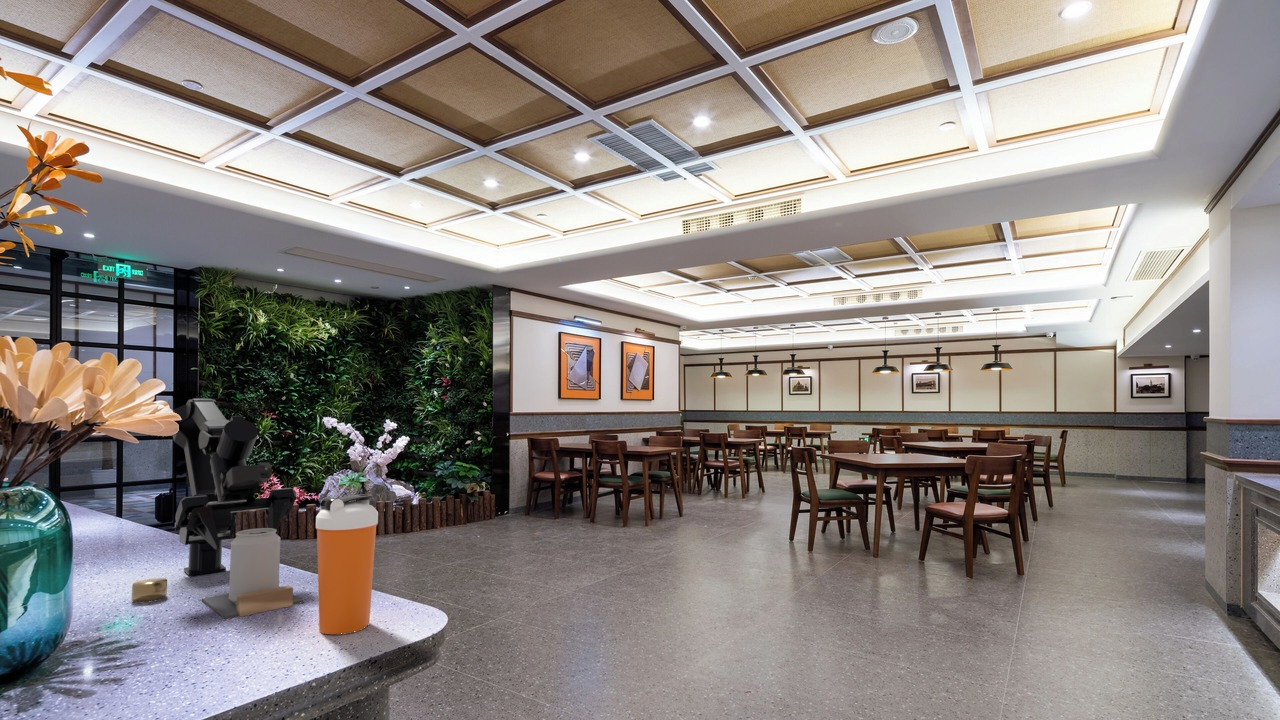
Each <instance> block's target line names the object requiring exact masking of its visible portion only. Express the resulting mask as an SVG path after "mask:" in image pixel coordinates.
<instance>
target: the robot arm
mask: <svg viewBox="0 0 1280 720" xmlns="http://www.w3.org/2000/svg"><path fill="white" fill-rule="evenodd" d="M217 405H218V404H217V400H216V399H212V398H192V399H188V400H187V402H186V404H183V405H181V406H179V407H177V408H175V409H173V410H172V412H175V413H177V414H179V415H180V416H182V420H181V421H180V422H179V431H178V433H176V434H175V435H172V439H173V442H174V443H175V444H177V446H179V447H180V448H182V449H183V451H184V455H185V456H184V457H185V463H186V468H187V469H186V470H187V474H188V482H189V487H190V492H191V496H183V497H182V498H181V499H180V501H179V504H178V507H177V510H176V512H175V517H174V518H175V524H176V527H177V528H179V543H180V544H183V545H184V546H187V545H189V547H188V549H189V550H188V567H184V568H183V571H184V572H185V573H186V575H187V576H196V575H203V574H211V573H217V572H223V571H224V572H225V571H227V567H226V566H224V564H222V555H223V541H225V540H232V539H233V538H234V533H235V526H236V523H237V522H236V521H237V518H238V517H237V516H236V514H235V513H241V512H250V511H259V510H260V511H261V510H264V511H265V514H266V516H267V517H266V519H265V521H266V524H267V528H273V529H276V530H277V531H276V534H277V535H278V532H279V528H280V527H279V526H280V521H281V520H282V519H284V517H286V516H287V515H289V514H291V511H292V509H293V507H294V505H295V502H296V500H297V498H298V497H297V493H296V491H295V489H294V488H292V487H286V488H285V487H284V488H273V489H271V490H270V492H269V495H268V497H259V498H256V497H255V495H257V494H258V493H259V491H260V489H259V485H260V484H261V483H263V482H268V481H269V480H270V479H271V478H272V473H273V471H272V468H271V465H270V462H259V463H258V464H250V465H247V462H246V459H248V458H250V456H251V454H252V452H253V451H252V450H253V448H254V445H255V443H256V440H257V438H258V435H259V428H258V427H257V426H256V425H255V424H254V423H253V422H251V421H248V420H246V419H244V416H242V415H237V416H236V415H235V416H234V415H232V416H231V418H230V420H228V419H227V418H226V417H225V415H223V413H222V412H221V411H220V408H219V407H218V406H217Z"/></svg>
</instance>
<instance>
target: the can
mask: <svg viewBox="0 0 1280 720" xmlns="http://www.w3.org/2000/svg"><path fill="white" fill-rule="evenodd" d="M276 531H277V530H276V529H273V528H268V527H262V528H259V527H258V528H248V529H243V530H240V531H239V530H238V531H237V532H236V533H235V536H236V537H235V538H233V540H232V541H231V542H230V554H229V555H230V559H229V560H230V561H229V562H230V563H229V580H228V581H229V587H228V594H229V599H230V600H231V601H232V602H234V603H235V604H236V602H237V595H241V594H246V593H251V592H256V591H262V590H267V589H272V588H278V587H280V567H281V565H280V562H281V561H280V560H281V559H280V558H281V537H280V536H279V535H278V534H276Z"/></svg>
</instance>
